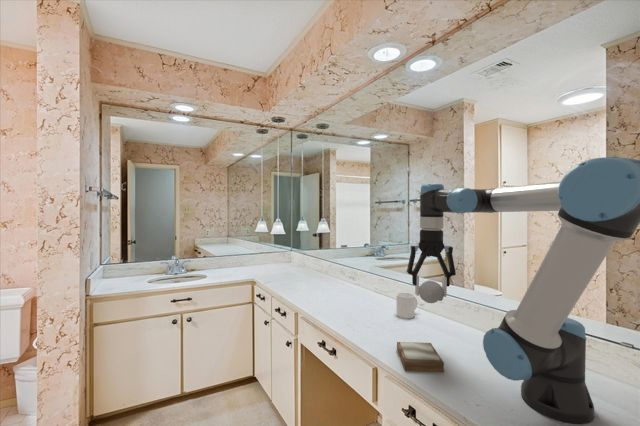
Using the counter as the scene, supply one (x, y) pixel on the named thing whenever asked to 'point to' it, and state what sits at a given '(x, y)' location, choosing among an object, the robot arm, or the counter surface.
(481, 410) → the counter surface
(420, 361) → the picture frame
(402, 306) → the mug
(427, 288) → the seashell
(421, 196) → the robot arm
